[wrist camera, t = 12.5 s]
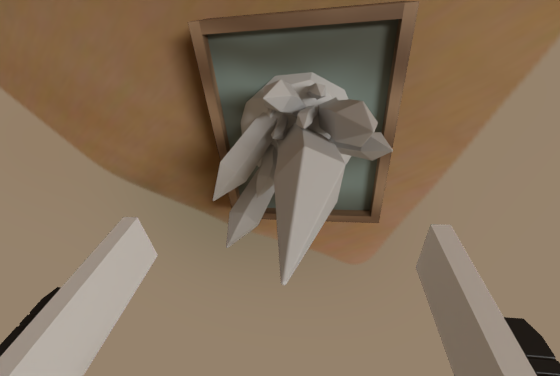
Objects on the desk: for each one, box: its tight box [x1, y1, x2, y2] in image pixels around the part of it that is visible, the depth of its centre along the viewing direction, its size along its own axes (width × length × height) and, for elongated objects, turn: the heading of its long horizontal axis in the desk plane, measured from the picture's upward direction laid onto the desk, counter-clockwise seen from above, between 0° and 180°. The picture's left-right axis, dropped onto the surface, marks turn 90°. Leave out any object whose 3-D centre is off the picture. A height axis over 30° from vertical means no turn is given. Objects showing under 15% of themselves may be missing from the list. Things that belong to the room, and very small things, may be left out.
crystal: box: [213, 72, 393, 285], centre depth 17 cm, size 10×13×15 cm
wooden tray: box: [188, 1, 419, 223], centre depth 23 cm, size 18×15×4 cm
